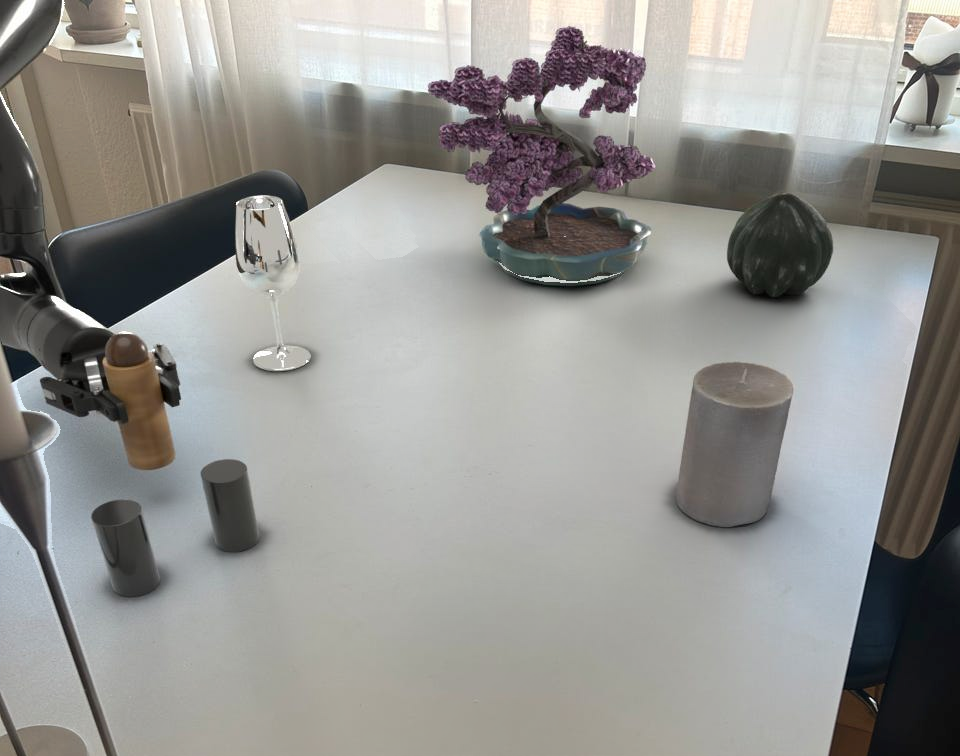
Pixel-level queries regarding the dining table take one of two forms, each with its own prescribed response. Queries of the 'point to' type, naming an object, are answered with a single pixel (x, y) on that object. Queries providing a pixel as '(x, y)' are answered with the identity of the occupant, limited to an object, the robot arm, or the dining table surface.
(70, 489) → the dining table surface
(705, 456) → the pillar candle
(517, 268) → the bonsai tree
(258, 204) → the wineglass
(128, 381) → the pepper mill
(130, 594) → the dark grey upright cylinder
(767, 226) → the squash
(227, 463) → the grey upright cylinder
